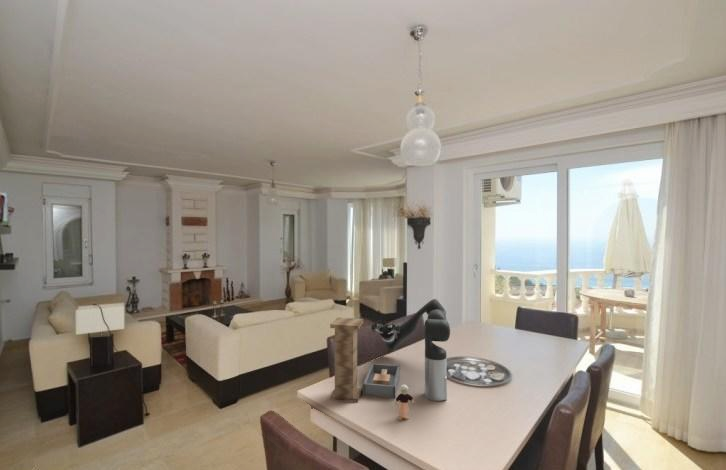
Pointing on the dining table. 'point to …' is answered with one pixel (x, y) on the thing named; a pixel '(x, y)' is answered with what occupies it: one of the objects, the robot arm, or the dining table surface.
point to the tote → (379, 389)
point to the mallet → (382, 378)
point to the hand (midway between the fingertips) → (384, 325)
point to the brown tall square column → (346, 359)
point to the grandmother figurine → (403, 402)
